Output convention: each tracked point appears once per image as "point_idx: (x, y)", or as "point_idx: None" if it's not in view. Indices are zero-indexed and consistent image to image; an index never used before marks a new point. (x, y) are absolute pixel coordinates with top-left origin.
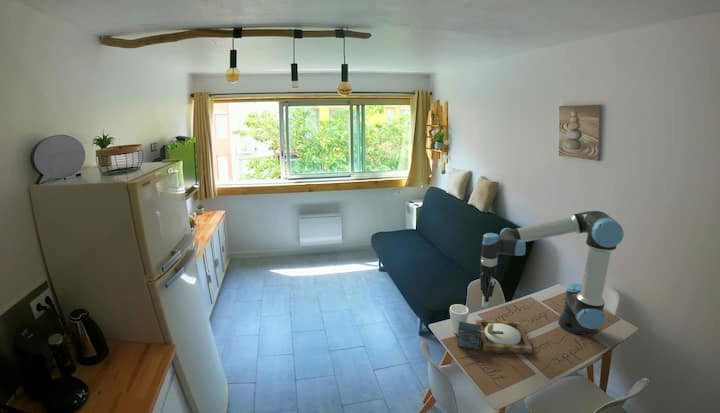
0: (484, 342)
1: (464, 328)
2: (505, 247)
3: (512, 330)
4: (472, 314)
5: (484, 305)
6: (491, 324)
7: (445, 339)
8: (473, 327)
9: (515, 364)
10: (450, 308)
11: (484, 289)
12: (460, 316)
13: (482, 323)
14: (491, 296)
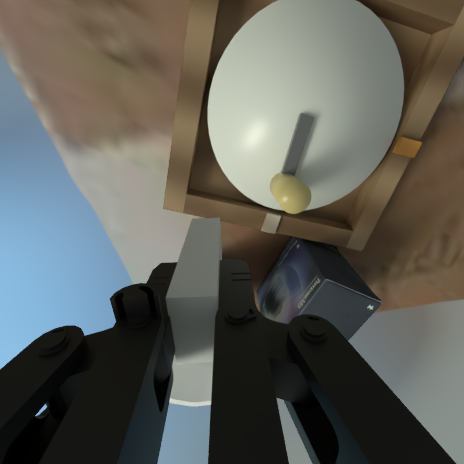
0: (343, 240)
1: None
2: None
3: (296, 33)
4: (74, 178)
5: (221, 258)
6: (294, 192)
7: None
8: (336, 321)
9: (460, 145)
10: (184, 402)
11: (152, 454)
12: None
13: (189, 182)
14: (328, 325)
